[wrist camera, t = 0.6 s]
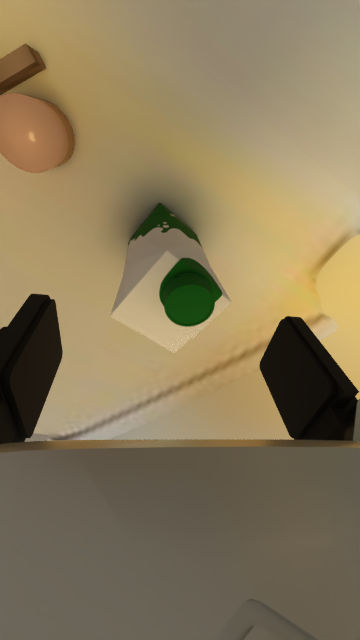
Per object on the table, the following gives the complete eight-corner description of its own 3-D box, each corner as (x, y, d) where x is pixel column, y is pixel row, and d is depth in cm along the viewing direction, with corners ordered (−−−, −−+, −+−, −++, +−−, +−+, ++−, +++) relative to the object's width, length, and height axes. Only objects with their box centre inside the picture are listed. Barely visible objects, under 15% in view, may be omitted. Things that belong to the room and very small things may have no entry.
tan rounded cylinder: (51, 88, 26) (29, 79, 22) (85, 152, 30) (73, 156, 25) (3, 115, 27) (-28, 112, 23) (41, 174, 31) (22, 183, 26)
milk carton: (205, 235, 37) (248, 315, 21) (165, 279, 41) (175, 376, 25) (158, 191, 33) (166, 249, 17) (118, 244, 37) (94, 333, 21)
